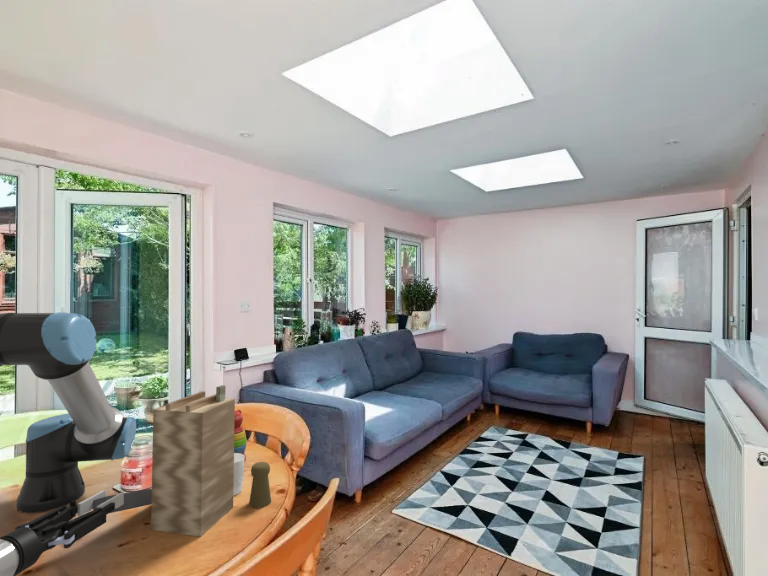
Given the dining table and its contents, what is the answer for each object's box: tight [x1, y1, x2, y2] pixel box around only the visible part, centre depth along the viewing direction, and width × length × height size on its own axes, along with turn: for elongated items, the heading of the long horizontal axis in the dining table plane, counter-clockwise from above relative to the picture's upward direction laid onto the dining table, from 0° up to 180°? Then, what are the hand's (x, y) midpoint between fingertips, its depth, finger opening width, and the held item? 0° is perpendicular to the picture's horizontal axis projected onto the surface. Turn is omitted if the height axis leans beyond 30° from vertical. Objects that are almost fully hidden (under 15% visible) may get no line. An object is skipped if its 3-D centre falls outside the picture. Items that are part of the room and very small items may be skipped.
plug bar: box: [92, 488, 152, 514], centre depth 104 cm, size 4×24×4 cm, turn 167°
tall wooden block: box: [150, 384, 236, 538], centre depth 107 cm, size 14×14×34 cm
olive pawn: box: [248, 461, 272, 509], centre depth 115 cm, size 6×6×11 cm
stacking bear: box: [234, 409, 248, 463], centre depth 143 cm, size 11×10×18 cm
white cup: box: [233, 453, 245, 497], centre depth 121 cm, size 8×8×10 cm
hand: (113, 497), depth 97 cm, fingers closed on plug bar, 4 cm apart
